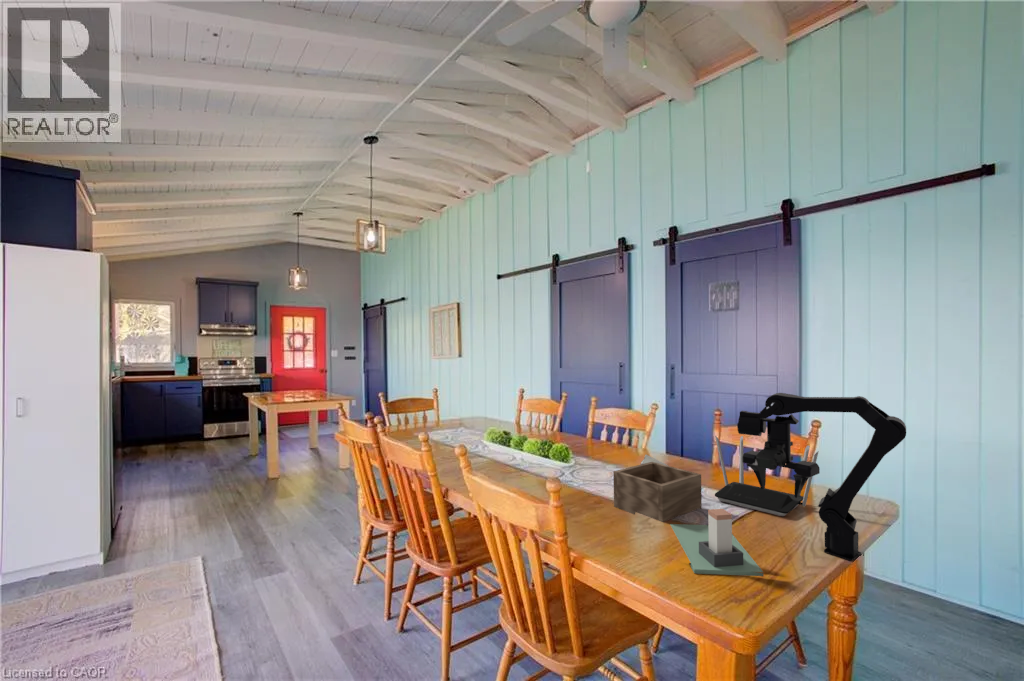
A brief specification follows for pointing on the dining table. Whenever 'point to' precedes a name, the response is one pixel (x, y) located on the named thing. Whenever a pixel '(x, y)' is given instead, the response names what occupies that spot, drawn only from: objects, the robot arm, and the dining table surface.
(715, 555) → the dark grey tray
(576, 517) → the dining table surface
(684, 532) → the board
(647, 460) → the decorative block
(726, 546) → the plug
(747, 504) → the wireless router
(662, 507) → the open wooden crate
